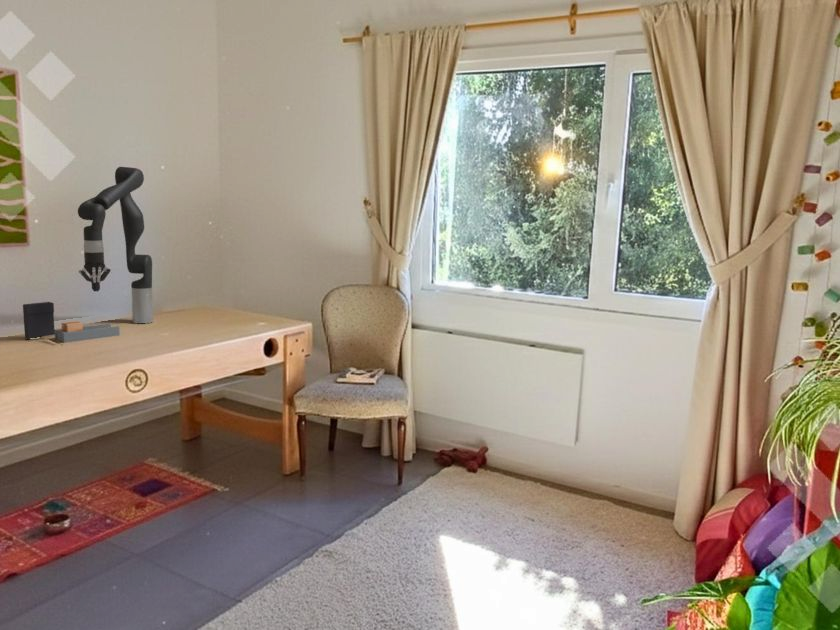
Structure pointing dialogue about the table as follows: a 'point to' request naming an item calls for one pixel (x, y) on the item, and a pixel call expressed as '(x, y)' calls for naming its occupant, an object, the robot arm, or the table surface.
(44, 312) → the dark grey upright box
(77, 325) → the block
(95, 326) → the chute
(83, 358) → the table surface
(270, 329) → the table surface
